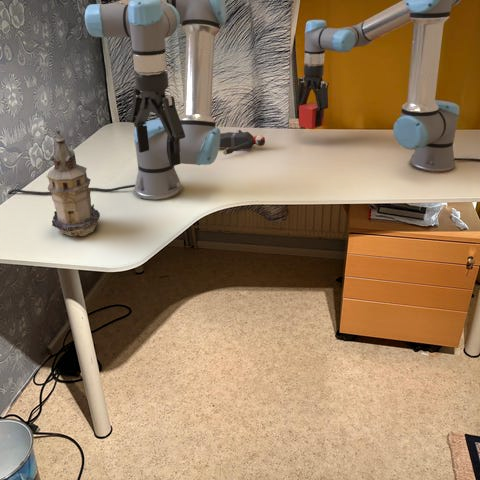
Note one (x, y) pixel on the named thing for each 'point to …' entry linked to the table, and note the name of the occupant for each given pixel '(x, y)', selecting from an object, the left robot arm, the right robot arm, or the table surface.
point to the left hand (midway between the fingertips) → (159, 158)
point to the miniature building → (70, 193)
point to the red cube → (308, 116)
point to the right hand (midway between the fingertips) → (311, 123)
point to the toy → (239, 141)
